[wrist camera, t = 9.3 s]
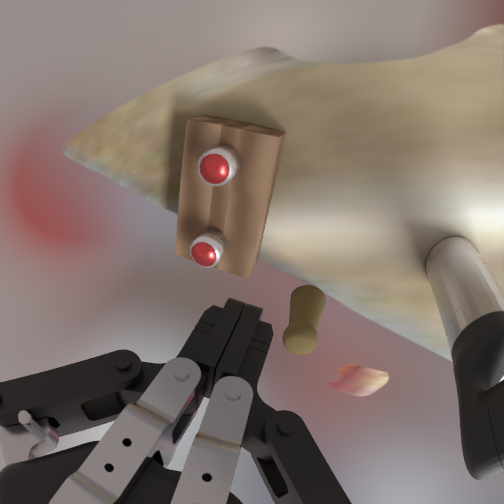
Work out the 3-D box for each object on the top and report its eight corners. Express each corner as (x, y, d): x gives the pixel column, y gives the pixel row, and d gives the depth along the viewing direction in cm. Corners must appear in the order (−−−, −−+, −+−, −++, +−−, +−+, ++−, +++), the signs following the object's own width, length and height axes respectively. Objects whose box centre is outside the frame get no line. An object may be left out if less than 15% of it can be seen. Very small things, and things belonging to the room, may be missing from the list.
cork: (283, 300, 51) (269, 346, 42) (304, 278, 48) (294, 325, 39) (311, 318, 52) (301, 365, 43) (333, 298, 49) (328, 347, 39)
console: (286, 132, 37) (279, 137, 33) (256, 260, 49) (248, 278, 45) (203, 115, 39) (186, 119, 35) (189, 239, 50) (175, 254, 46)
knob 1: (251, 144, 37) (234, 155, 32) (245, 175, 40) (229, 191, 34) (219, 137, 38) (198, 147, 32) (215, 167, 40) (194, 182, 35)
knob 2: (236, 224, 44) (220, 246, 38) (232, 248, 46) (216, 273, 41) (209, 215, 44) (189, 236, 39) (206, 240, 47) (187, 263, 41)
